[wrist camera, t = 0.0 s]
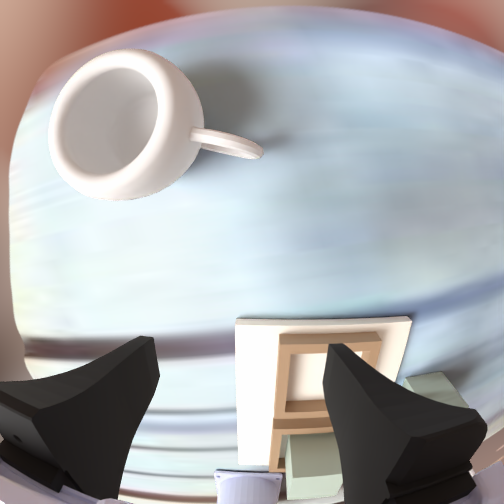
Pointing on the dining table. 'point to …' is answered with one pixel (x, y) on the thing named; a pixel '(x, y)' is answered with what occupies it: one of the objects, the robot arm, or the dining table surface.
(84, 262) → the dining table surface
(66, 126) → the mug
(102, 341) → the dining table surface
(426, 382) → the green block
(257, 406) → the puzzle board
